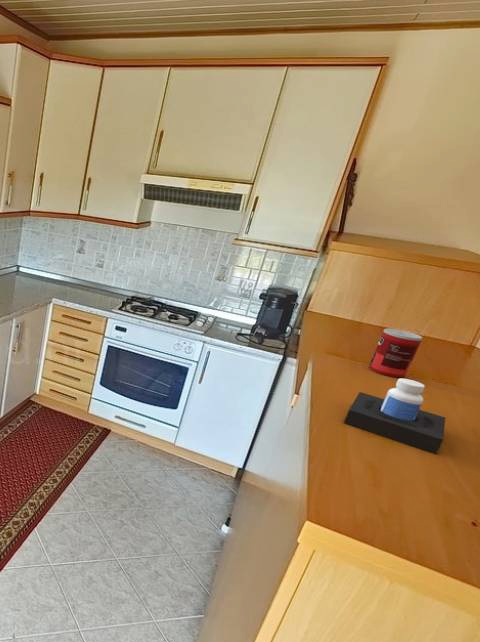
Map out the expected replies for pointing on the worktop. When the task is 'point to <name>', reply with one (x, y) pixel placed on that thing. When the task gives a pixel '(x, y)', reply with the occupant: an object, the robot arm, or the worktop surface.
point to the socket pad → (396, 424)
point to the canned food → (395, 352)
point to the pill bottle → (403, 400)
